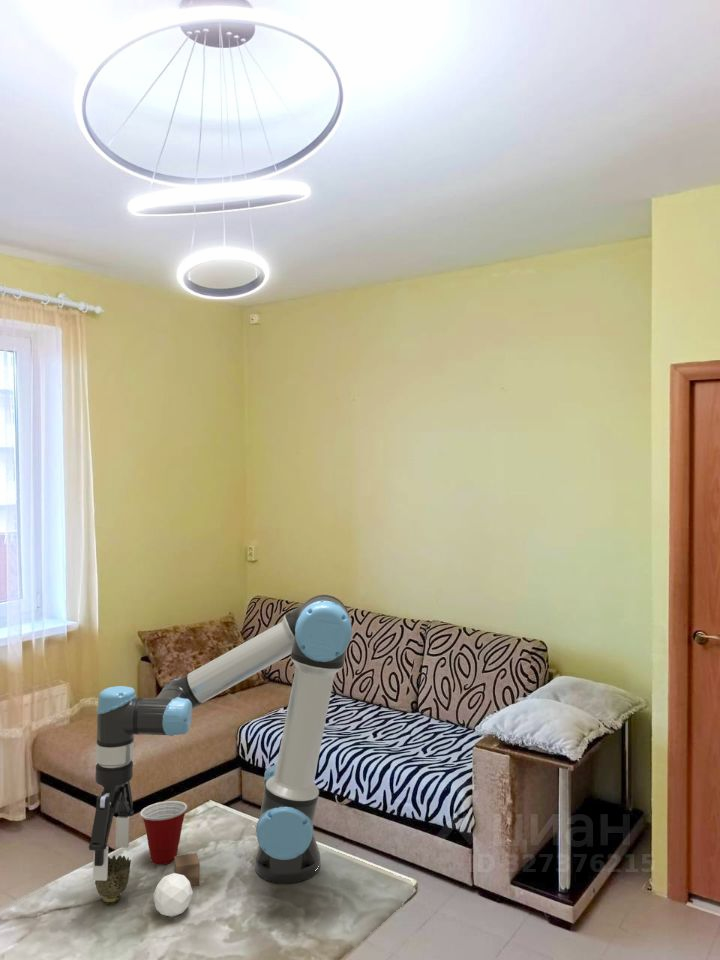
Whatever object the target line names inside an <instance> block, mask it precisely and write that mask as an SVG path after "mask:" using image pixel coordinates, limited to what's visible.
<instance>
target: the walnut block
mask: <svg viewBox="0 0 720 960" xmlns="http://www.w3.org/2000/svg"><path fill="white" fill-rule="evenodd" d="M200 869H201V862H200V859H199V855H198V853H197V852H192V853H186V854H179V855H178V854H177V856H174V861H173V873H176V874H181V875H184V876H185V877H186V878H187V879H188V880H189V881H190V885H191V888H194V887H200V879H201V878H200V874H201V873H200V872H201V871H200Z"/></svg>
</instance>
